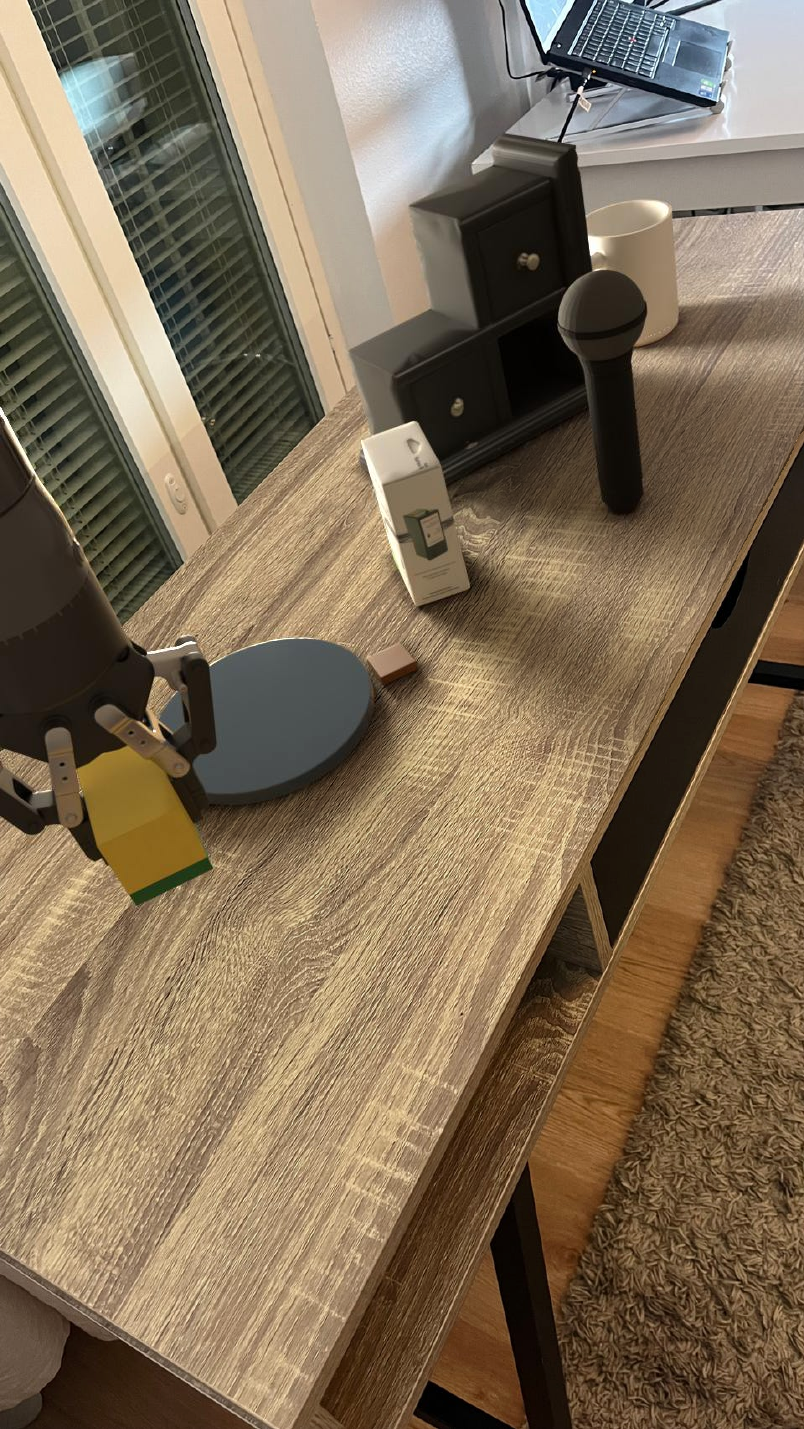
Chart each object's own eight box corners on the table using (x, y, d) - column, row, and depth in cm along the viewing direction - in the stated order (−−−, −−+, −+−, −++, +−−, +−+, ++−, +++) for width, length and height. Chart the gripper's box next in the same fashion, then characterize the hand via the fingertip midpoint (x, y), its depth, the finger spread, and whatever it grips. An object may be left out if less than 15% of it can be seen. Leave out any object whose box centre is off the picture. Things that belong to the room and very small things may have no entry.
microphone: (614, 480, 94) (586, 251, 81) (679, 495, 90) (661, 257, 77) (569, 519, 91) (533, 289, 78) (634, 537, 87) (608, 297, 74)
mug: (693, 310, 115) (686, 197, 107) (649, 364, 109) (638, 248, 101) (611, 309, 120) (599, 201, 112) (564, 360, 114) (548, 249, 106)
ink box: (391, 556, 94) (356, 435, 86) (445, 538, 94) (414, 416, 86) (415, 609, 87) (379, 483, 79) (472, 589, 87) (443, 462, 80)
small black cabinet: (414, 505, 99) (347, 249, 84) (358, 468, 107) (287, 227, 92) (611, 399, 105) (582, 142, 90) (545, 371, 113) (507, 130, 97)
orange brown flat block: (383, 685, 81) (380, 677, 80) (368, 665, 83) (365, 657, 83) (418, 669, 81) (416, 661, 81) (403, 649, 84) (400, 641, 83)
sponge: (136, 906, 57) (97, 847, 54) (112, 825, 63) (75, 766, 59) (213, 869, 58) (179, 807, 55) (183, 791, 63) (150, 731, 60)
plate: (188, 842, 73) (181, 831, 73) (139, 707, 86) (133, 696, 85) (410, 737, 76) (406, 725, 75) (330, 621, 89) (326, 610, 88)
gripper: (137, 493, 52) (252, 740, 63) (-147, 613, 50) (23, 847, 61) (171, 561, 47) (290, 819, 58) (-146, 700, 45) (41, 939, 56)
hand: (152, 832), depth 60 cm, fingers closed on sponge, 4 cm apart
